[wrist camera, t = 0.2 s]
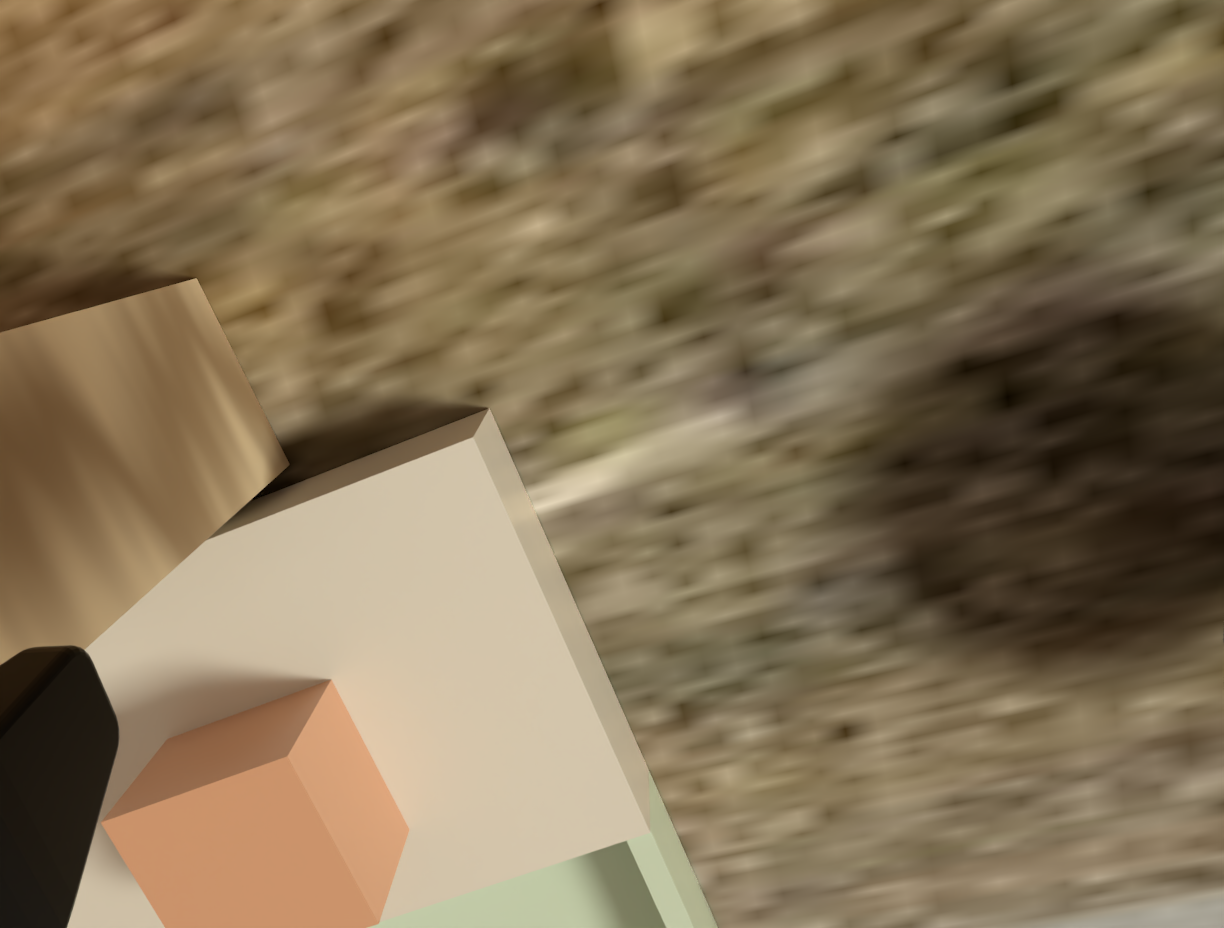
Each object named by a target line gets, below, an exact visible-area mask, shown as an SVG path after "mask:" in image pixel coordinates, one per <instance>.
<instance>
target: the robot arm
mask: <svg viewBox="0 0 1224 928" xmlns="http://www.w3.org/2000/svg"><path fill="white" fill-rule="evenodd" d="M119 738H120V736H119V724H118V720H117V716H116V714H115V711H114V709H113V707H112V704H111V702H110V700H109V698H108V695H107V693H106V691H105V688H104V686H103V684H102V681H101V679H100V677H99V675H98V672H97V670H96V668H95V665H94V663H93V661H92V659H91V657H90V655H89V654H88V653H87V652H86V651H85V650H84V649H82V648H81V647H77V646H73V645H67V646H44V647H33V648H28V649H25V650H23V651H21V652H19V653H18V654H16V655H15V656H13V657H12V658H10V659H9V660H7V661H6V662H4V663H3V664H1V665H0V928H67V926H68V923H69V920H70V917H71V913H72V910H73V907H74V904H75V901H76V897H77V894H78V890H79V887H80V883H81V879H82V876H83V872H84V869H85V865H86V862H87V858H88V855H89V851H90V847H91V844H92V840H93V837H94V833H95V830H96V826H97V823H98V819H99V816H100V812H101V808H102V805H103V801H104V798H105V794H106V791H107V787H108V784H109V780H110V777H111V773H112V769H113V766H114V762H115V759H116V755H117V751H118V747H119Z"/></svg>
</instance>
